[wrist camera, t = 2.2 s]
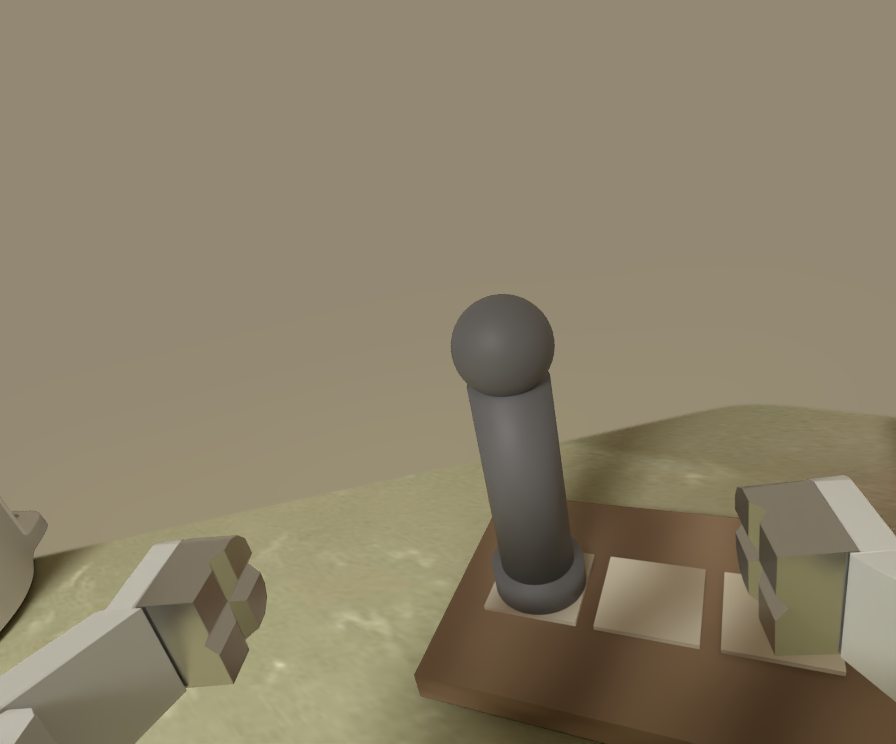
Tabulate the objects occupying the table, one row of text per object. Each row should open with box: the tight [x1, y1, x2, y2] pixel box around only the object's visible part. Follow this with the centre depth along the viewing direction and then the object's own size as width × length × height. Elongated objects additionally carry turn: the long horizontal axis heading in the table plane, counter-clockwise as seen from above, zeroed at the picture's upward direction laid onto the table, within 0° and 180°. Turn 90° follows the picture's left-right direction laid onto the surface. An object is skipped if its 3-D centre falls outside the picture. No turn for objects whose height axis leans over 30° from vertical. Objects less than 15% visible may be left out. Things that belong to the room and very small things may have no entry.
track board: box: [414, 501, 896, 744], centre depth 24 cm, size 25×11×1 cm, turn 68°
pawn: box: [451, 294, 586, 615], centre depth 24 cm, size 4×4×13 cm
